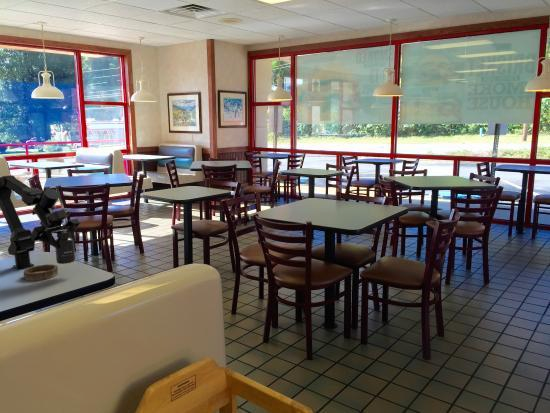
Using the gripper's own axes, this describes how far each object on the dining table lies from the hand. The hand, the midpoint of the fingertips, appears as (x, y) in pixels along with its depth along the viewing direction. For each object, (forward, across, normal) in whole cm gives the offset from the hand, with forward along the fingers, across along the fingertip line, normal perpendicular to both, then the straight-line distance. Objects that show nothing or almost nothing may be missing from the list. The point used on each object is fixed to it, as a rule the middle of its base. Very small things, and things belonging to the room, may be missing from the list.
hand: (66, 245), depth 183 cm
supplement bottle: (+4, 0, +6) cm, 7 cm away
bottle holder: (0, -4, +18) cm, 18 cm away
